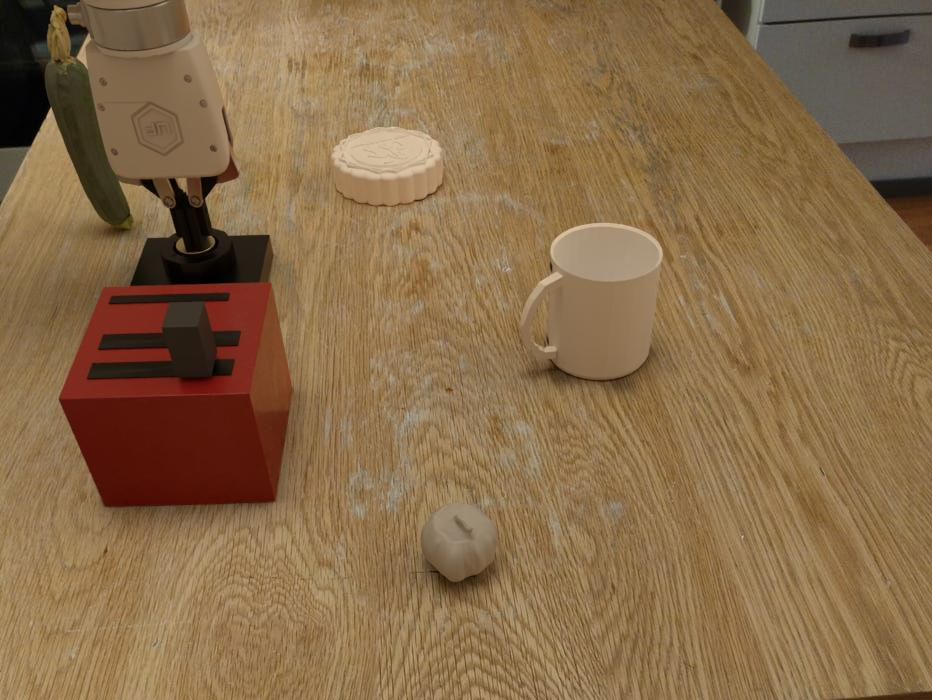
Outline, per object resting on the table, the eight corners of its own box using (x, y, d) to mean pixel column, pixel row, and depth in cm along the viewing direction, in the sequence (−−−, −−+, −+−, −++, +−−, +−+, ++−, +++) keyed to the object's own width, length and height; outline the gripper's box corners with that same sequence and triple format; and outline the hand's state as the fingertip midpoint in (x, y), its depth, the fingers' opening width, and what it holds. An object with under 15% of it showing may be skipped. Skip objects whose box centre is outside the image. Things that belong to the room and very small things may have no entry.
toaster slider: (176, 378, 66) (160, 327, 63) (183, 352, 68) (168, 301, 65) (211, 377, 66) (197, 326, 63) (217, 351, 68) (204, 300, 65)
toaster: (104, 507, 73) (57, 397, 65) (140, 393, 82) (102, 285, 74) (275, 502, 73) (248, 392, 65) (292, 389, 82) (271, 280, 74)
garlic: (502, 591, 67) (502, 538, 63) (424, 597, 67) (420, 544, 63) (494, 531, 71) (494, 477, 67) (421, 536, 71) (416, 482, 67)
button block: (133, 315, 89) (120, 275, 86) (153, 258, 96) (141, 219, 93) (262, 311, 89) (253, 271, 86) (273, 255, 96) (266, 216, 93)
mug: (627, 314, 88) (639, 216, 81) (664, 371, 83) (680, 271, 76) (501, 335, 86) (502, 236, 79) (530, 395, 81) (533, 295, 74)
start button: (177, 271, 90) (172, 253, 88) (183, 251, 92) (179, 233, 90) (216, 270, 90) (211, 252, 88) (221, 250, 92) (217, 232, 90)
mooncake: (355, 217, 100) (351, 182, 98) (319, 168, 107) (314, 135, 104) (460, 192, 103) (459, 159, 100) (419, 147, 110) (417, 114, 107)
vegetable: (106, 244, 98) (31, 22, 82) (86, 229, 100) (10, 9, 84) (145, 229, 99) (79, 9, 84) (124, 214, 101) (57, -4, 86)
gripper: (30, 41, 73) (108, 267, 87) (228, 35, 73) (273, 261, 87) (55, 5, 77) (125, 225, 92) (240, -1, 77) (282, 219, 92)
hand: (197, 242), depth 89 cm, fingers closed
